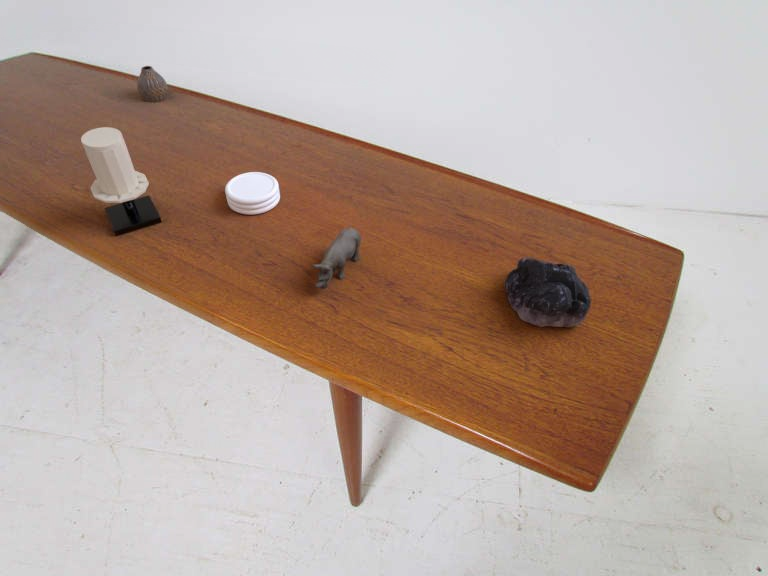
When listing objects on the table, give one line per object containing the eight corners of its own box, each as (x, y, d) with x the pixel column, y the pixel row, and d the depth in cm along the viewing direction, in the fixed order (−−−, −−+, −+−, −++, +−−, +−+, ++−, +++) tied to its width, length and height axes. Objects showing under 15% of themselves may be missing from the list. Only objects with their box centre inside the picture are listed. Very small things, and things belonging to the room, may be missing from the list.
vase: (163, 94, 128) (153, 59, 122) (177, 103, 124) (167, 68, 118) (138, 102, 124) (126, 67, 118) (150, 112, 121) (139, 76, 115)
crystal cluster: (527, 265, 86) (535, 219, 79) (605, 297, 80) (620, 250, 73) (487, 312, 80) (491, 267, 73) (567, 351, 73) (580, 306, 66)
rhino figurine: (304, 294, 79) (300, 267, 75) (345, 245, 88) (344, 217, 84) (326, 303, 78) (324, 275, 73) (366, 252, 87) (366, 224, 82)
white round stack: (268, 219, 92) (266, 204, 90) (218, 211, 94) (214, 195, 91) (287, 190, 99) (286, 174, 97) (241, 182, 101) (238, 167, 98)
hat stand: (116, 236, 88) (80, 158, 77) (106, 212, 92) (71, 136, 81) (162, 222, 91) (134, 145, 80) (150, 200, 96) (123, 124, 85)
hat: (98, 208, 83) (76, 157, 76) (86, 180, 88) (65, 129, 81) (154, 193, 87) (138, 143, 79) (140, 167, 91) (123, 117, 84)
